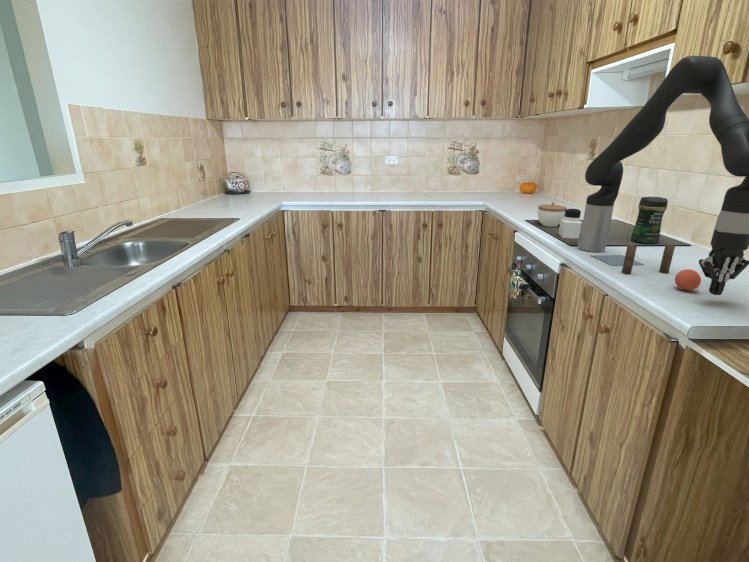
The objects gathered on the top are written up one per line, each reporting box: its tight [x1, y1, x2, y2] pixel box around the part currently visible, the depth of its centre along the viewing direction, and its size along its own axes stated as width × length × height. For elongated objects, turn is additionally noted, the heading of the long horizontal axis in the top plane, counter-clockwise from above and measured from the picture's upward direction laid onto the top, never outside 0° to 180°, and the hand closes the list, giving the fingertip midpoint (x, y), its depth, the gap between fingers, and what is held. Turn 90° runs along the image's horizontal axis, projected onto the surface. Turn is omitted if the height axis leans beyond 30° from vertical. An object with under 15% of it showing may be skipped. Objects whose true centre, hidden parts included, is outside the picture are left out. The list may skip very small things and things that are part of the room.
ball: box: [674, 268, 702, 291], centre depth 121 cm, size 6×6×6 cm
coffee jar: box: [630, 196, 669, 244], centre depth 174 cm, size 10×8×19 cm
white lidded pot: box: [537, 201, 568, 228], centre depth 205 cm, size 13×13×11 cm
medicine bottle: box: [558, 208, 583, 240], centre depth 182 cm, size 7×7×12 cm
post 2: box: [658, 243, 676, 274], centre depth 136 cm, size 3×3×9 cm
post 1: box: [621, 244, 638, 275], centre depth 134 cm, size 3×3×9 cm
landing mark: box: [590, 254, 645, 267], centre depth 150 cm, size 12×12×1 cm
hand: (714, 294), depth 112 cm, fingers closed
